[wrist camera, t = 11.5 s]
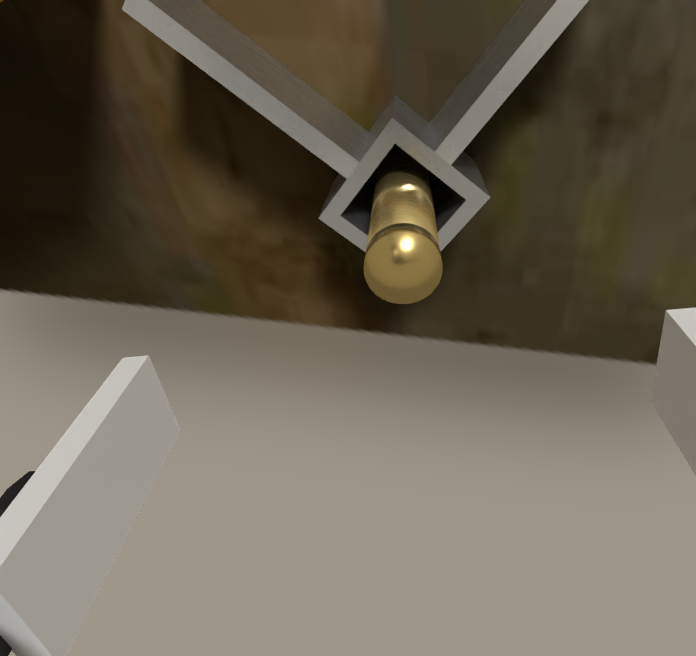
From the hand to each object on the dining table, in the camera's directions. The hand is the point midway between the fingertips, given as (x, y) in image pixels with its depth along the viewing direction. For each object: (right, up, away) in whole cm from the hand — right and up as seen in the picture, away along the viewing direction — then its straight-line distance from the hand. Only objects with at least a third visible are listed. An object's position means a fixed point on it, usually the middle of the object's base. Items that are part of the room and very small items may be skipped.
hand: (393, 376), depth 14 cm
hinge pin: (+2, +11, +18) cm, 21 cm away
